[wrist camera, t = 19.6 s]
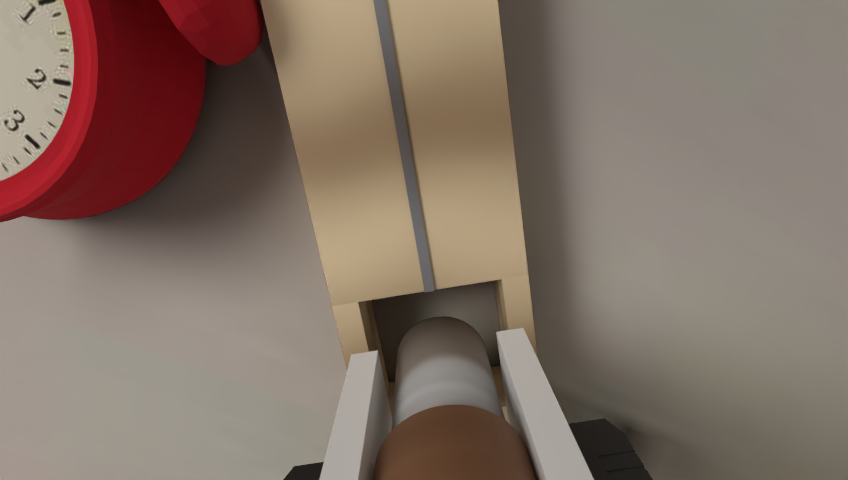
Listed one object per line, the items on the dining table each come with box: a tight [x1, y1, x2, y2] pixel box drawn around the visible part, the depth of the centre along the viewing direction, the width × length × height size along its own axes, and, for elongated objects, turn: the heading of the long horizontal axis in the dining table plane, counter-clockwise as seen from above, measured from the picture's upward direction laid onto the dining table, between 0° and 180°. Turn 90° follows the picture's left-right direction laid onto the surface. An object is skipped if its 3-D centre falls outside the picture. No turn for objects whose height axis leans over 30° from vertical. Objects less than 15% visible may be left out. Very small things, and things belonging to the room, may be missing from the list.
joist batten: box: [260, 0, 538, 424], centre depth 16 cm, size 22×6×3 cm, turn 9°
